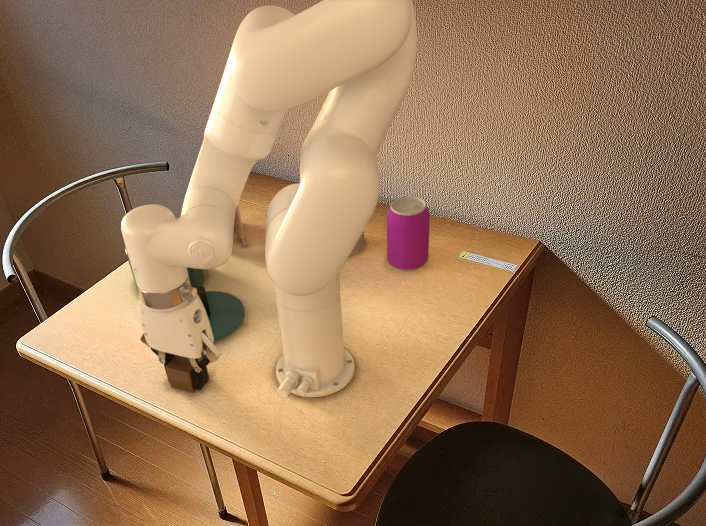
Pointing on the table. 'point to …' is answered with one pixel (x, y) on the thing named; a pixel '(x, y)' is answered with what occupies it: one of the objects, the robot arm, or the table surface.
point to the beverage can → (408, 233)
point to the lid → (222, 311)
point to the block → (181, 374)
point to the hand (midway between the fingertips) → (188, 380)
